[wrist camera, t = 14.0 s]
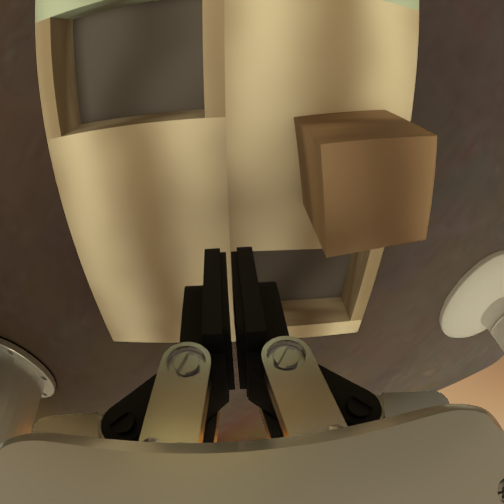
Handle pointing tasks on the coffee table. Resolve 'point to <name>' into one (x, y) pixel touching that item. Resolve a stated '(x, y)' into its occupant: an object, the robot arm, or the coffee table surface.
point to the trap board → (210, 144)
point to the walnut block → (365, 179)
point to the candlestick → (477, 301)
